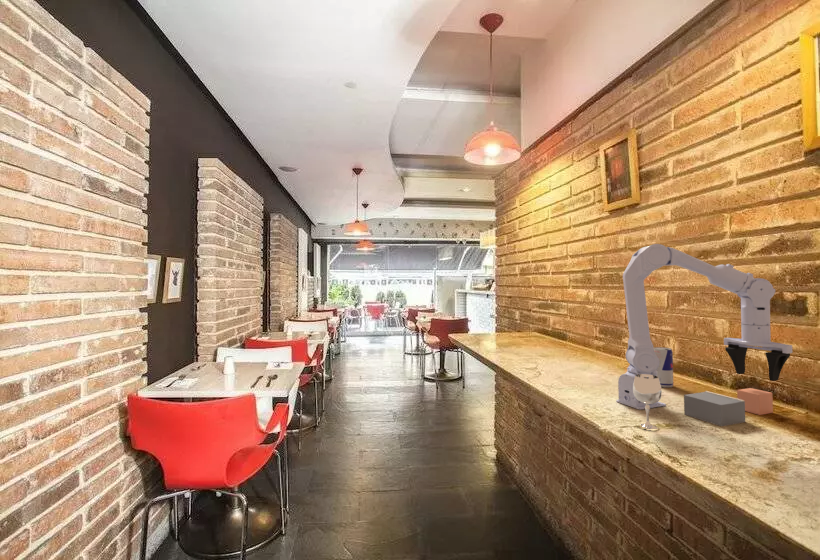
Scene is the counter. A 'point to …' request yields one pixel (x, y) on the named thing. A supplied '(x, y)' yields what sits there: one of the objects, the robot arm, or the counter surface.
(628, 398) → the robot arm
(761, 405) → the salmon pink cube
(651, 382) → the wineglass
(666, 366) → the energy drink
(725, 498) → the counter surface
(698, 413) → the block
